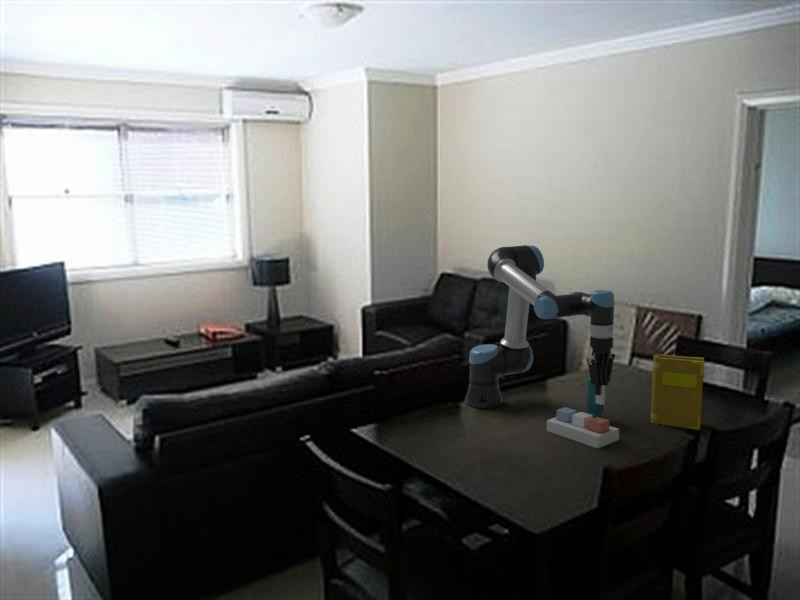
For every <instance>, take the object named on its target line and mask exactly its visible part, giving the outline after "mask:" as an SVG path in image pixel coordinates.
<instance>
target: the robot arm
mask: <svg viewBox="0 0 800 600" xmlns="http://www.w3.org/2000/svg"><path fill="white" fill-rule="evenodd" d="M486 265H487V270H488V273H489V275H490V276H491V277H492V278H493V279H495V280H496V281H497V282H499V283H504V284H506V286H508V287H509V288H508V298H507V299H508V300H507V308H506V309H507V310H506V320H505V328H504V337H502V338H501V339H500V341H499V346H498V345H496V344H491V343H489V344H479V345H476V346H474V347H472V348H471V350H470V352H469V358H468V361H469V385H468V388H467V393H466V394H465V404H466V405H468V406H470V407H473V408H478V409H493V408H497V407H500V406H502V405H503V399H504V398H503V395H502V393H501V392H502V391H501V389H500V385H499V377H502V376H508V375H514V374H515V375H516V374H521V373H525V372H527V371H528V370H530V368H532V366H533V362H534V353H533V349H532V348H531V346H530V343H529V341H527V340H526V338H527V330H528V320H529V310H530V305H532V306H533V311H534V313H535V315H536V317H538V319H541V320H552V319H559V318H566V317H574V316H585V317H586V316H587V317H589V318H590V324H589V334H590V337H589V347H590V348H591V350H592V351H591V357H590V358H587V359H586V363H587V365H588V370H589V371H588V372H589V376H590V379H591V384H593V385H595V394H596V402H595V403H597V404H601V405H603V404H604V405H605V404H606V387H607V386H609V385H610V381H611V377H612V376H611V375H612V370H613V365H614V360H615V357H616V354H615V353H612V351H611V349H613V347H614V337H613V336H614V321H615V320H614V319H615V318H614V317H615V294H614V292H613V291H611V290H607V289H606V290H605V289H597V290H596V289H595V290H593V291H590V292H591V293H590V294H589V293H585V292H583V291H572V292H570V293H569V294H560V295H556V294H555V293H553V292H552V291H550V290H549V289H548V288H546V287H545V286H543V285H542V284H541V283H540V282H539V281H537V275H540V274H541V273H542V272H543V270H544V267H545V260H544V256H543V254H542V252H541V250H540V249H539V247H537V246H535V245H526V244H523V245H514V246H500V247H498V248H496V249H495V250H492V252H491V253H490V254H489V257H488V259H487V264H486Z"/></svg>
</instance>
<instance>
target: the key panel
mask: <svg viewBox="0 0 800 600" xmlns="http://www.w3.org/2000/svg"><path fill="white" fill-rule="evenodd" d="M546 432H549V433H552V434H554V435H557V436H560V437H562V438H567V439H569V440H571V441H573V442H574V441H575V442H578V443H581V444H584V445H587V446H590V447H592V448H594V449H595V448H596V449H600V448H602V447H605V446H606V445H610V444H612V443H615V442H617V441H619V440H620V439H619V438H620V429H619V428H618V427H614V426H611V425H610V426H609V431H608V432H605V433H603V434H599V433H595V432H592V431H589V430H588V427H587V428H585V429H583V428H580V427H577V426H574V425H572V422H571V423H565V422H561V421H558V420H556V416H555V417H553V418H550V419H547V420H546Z"/></svg>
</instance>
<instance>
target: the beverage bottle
mask: <svg viewBox="0 0 800 600" xmlns="http://www.w3.org/2000/svg"><path fill="white" fill-rule="evenodd" d="M595 402H596V394H595V385H593V384H591V379H590V375H589V376H588V377H587V378H586V406H585V407H586V408H585V413H587V414H590V415H593V418H595V417H600V418H602V417H603V416H604V413H605V412H604V410H605V404H603V405H601V404H597V403H595Z"/></svg>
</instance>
